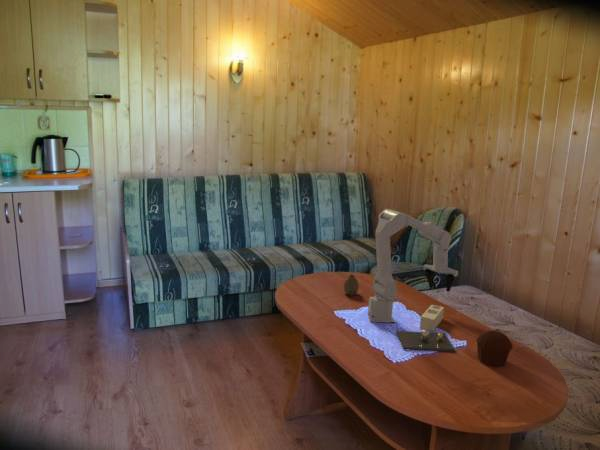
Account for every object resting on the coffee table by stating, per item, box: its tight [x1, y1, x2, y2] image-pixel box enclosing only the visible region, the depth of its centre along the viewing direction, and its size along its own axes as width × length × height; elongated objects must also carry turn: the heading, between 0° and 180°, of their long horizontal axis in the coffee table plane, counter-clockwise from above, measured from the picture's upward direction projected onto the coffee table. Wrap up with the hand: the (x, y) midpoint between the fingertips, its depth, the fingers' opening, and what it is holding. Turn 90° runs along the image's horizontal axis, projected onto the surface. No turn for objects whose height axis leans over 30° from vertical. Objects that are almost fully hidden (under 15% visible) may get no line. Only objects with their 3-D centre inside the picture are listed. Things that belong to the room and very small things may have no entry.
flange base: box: [396, 329, 456, 353], centre depth 180 cm, size 18×13×4 cm
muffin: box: [476, 330, 513, 368], centre depth 168 cm, size 12×11×10 cm
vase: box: [343, 274, 360, 296], centre depth 225 cm, size 7×7×9 cm
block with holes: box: [419, 304, 445, 332], centre depth 196 cm, size 15×5×5 cm, turn 150°
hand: (439, 288), depth 208 cm, fingers open, 7 cm apart
